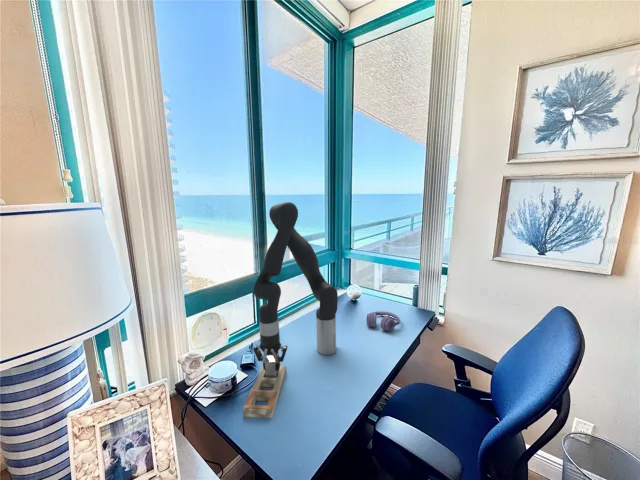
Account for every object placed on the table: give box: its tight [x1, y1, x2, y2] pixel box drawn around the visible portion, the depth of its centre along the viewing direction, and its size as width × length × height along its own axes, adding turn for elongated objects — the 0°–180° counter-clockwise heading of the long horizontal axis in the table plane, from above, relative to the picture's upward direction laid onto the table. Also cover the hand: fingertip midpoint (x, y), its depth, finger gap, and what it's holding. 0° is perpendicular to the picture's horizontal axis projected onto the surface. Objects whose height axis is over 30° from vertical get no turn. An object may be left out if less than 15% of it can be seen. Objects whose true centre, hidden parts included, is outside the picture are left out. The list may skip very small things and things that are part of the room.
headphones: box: [366, 310, 401, 332], centre depth 149 cm, size 18×8×20 cm
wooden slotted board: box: [242, 365, 287, 419], centre depth 98 cm, size 10×23×3 cm, turn 175°
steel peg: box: [265, 355, 278, 378], centre depth 105 cm, size 4×4×9 cm
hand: (271, 369), depth 105 cm, fingers closed on steel peg, 4 cm apart
